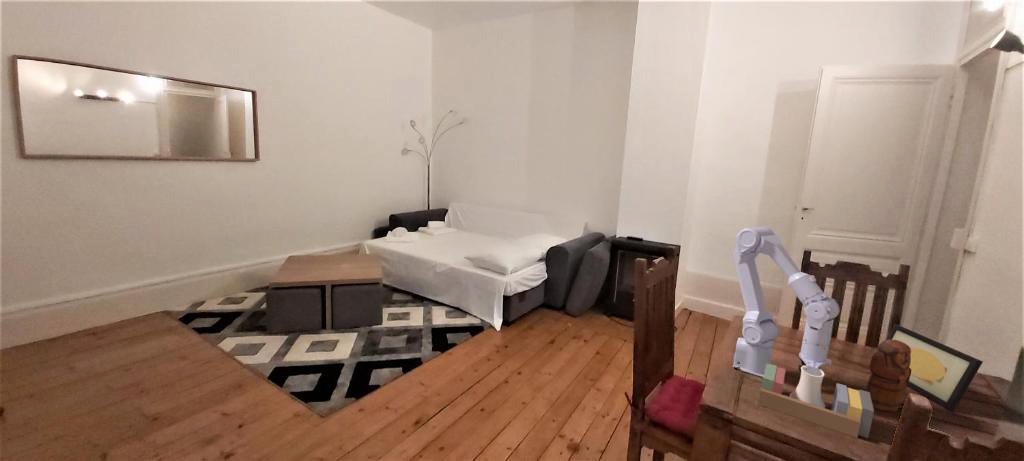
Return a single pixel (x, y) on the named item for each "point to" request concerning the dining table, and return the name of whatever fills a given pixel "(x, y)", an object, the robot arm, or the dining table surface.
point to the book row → (847, 408)
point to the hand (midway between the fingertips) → (807, 387)
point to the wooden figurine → (889, 375)
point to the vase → (809, 387)
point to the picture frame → (936, 368)
